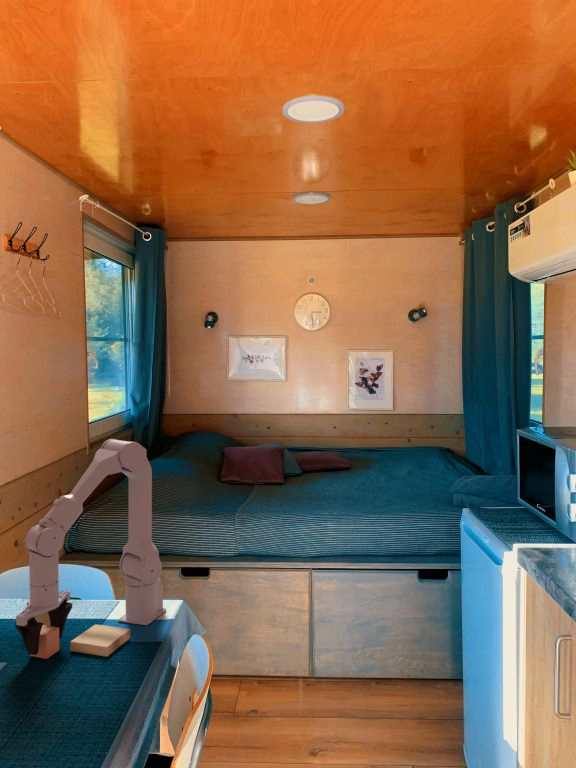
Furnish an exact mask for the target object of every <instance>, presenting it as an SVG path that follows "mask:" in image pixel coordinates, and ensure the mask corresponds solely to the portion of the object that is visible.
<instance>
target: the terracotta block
mask: <svg viewBox="0 0 576 768" xmlns="http://www.w3.org/2000/svg"><path fill="white" fill-rule="evenodd" d="M58 651H60V639H59V627H53V626H46V625H43V626H42V629H41V632H40V637H39V650H38V654H36V655H32V654H30V657H35V658H39V659H44V660H45V659H49V658H50V657H51V656H53V655H55V654H56V653H58Z"/></svg>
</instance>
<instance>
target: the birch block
mask: <svg viewBox="0 0 576 768" xmlns="http://www.w3.org/2000/svg"><path fill="white" fill-rule="evenodd" d="M130 639H131V629H130V628H127V627H126V628H124V627H117V626H111V625H103V624H96V623H95V624H94V625H92V626H90V628H88V629H87V630H85V631H84V632H82V633H81V634H79V635H77V637H75V638H74V639H72V640H70V652H76V653H83V654H87V655H95V656H101V657H109V656H110V655H111V654H113V653H114V651H116V650H117V649H119V648H120V647H121V646H122V645H123V644H125V643H126V642H127V641H128V640H130Z"/></svg>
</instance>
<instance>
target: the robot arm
mask: <svg viewBox="0 0 576 768" xmlns="http://www.w3.org/2000/svg"><path fill="white" fill-rule="evenodd" d="M118 473H122V474H124V475H125V476H126V477H128V525H127V526H128V539H127V540H128V541H127V543H126V544H124V546H123V547H122V556H121V557H120V560H119V566H118V567H119V571H120V573H121V574H122V575H124V580H125V581H124V582H125V585H124V586H125V614H124V615H123V614H122V616H121V617H119V618H118V619H117V621H118V622H120V623H128V624H135V625H141V626H143V625H144V626H148V625H149V624H151V623H152V622H154V620H156V619H157V618H158V617H160V616H161V615H162V614H163V613H164V612H166V611H167V608H166V607H164V601H163V600H164V596H163V595H164V593H163V592H164V591H163V590H164V589H163V588H164V585H163V582H162V581H161V580H162V579H160V577H161V574H162V571H163V565H162V561H161V559H160V551H159V550H158V547H156V545H155V543H154V542H153V541H152V538H153V536H152V532H153V529H152V528H153V527H152V526H153V524H152V523H153V516H152V515H153V512H152V511H153V507H152V505H153V501H152V500H153V493H152V492H153V491H152V490H153V481H152V480H153V479H152V478H153V474H152V473H153V470H152V466H151V464H150V461H149V460H148V457H147V449H146V448H145V447H144V446H143V445H141V444H140V443H138V442H137V441H127V440H120V439H116V438H110V439H107V440H105V441H104V442H103V443H102V445H101V446H100V448H99V449H97V451H95V453H94V457H93V460H92V462H90V464H89V465H88V468H87V469H86V470H85V472H84V473H83V474H82V476H81V477H80V479H79V480H78V481H77V483H76V485H75V486H74V487H73V489H72V490H71V491H70V492H69V493H68V494H65V495H61V496H60V497H59V498H56V499H55V500H54V501H53V502H52V503H53V504H52V505H53V506H52V507H51V508H50V510H49V511H48V512H47V513H46V514H45V516H44V517H43V518H41V519H40V520H39V521H38V524H36V525H35V526H34V525H33V526H32V527H31V528H30V529H28V532H27V533H26V535H25V538H24V539H23V540H22V541H23V546H24V547H25V548H26V549H27V550H28V552H29V553H28V556H29V557H28V558H29V559H28V560H29V562H28V563H29V567H28V568H29V569H28V570H29V600H28V601H26V607H25V608H24V609H23V610H22V611H21V612H20V613H18V614H16V616H15V621H14V627H15V629H16V630H17V631H18V633H19V634H20V636H21V638H22V640H23V644H24V647H25V649H26V653H27V655H31V654H32V655H36V654H38V650H39V637H40V632H41V629H42V626H43V624H44V623H40V622H37V620H35V618H36V617H38V616H39V615H41V614H43V613H45V612H48V614H49V618H50V626H53V627H59V640H61V639H62V638H63V633H64V631H65V630H64V629H65V627H66V622H67V620H68V616H69V615H70V612H71V610H72V609H73V603H72V602H68V601H70V600H71V590H61V591H59V590H60V588H59V585H60V582H59V580H60V579H59V551H60V550H61V549H62V548H63V547H64V545H65V544H64V543H65V537H66V535H67V533H68V531H69V530H70V529H71V527H72V526H73V525H74V524H75V522H76V520H77V519H78V518H79V517H80V516H81V514H82V513H83V511H84V507H83V506H84V504H83V503H84V502H85V501H86V500H87V498H88V497H90V495H91V494H92V493H93V491H95V489H96V488H97V487H98V486H99V485H100V483H102V482H103V480H104V479H105V478H106V477H107V476H109V475H114V474H118Z"/></svg>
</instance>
